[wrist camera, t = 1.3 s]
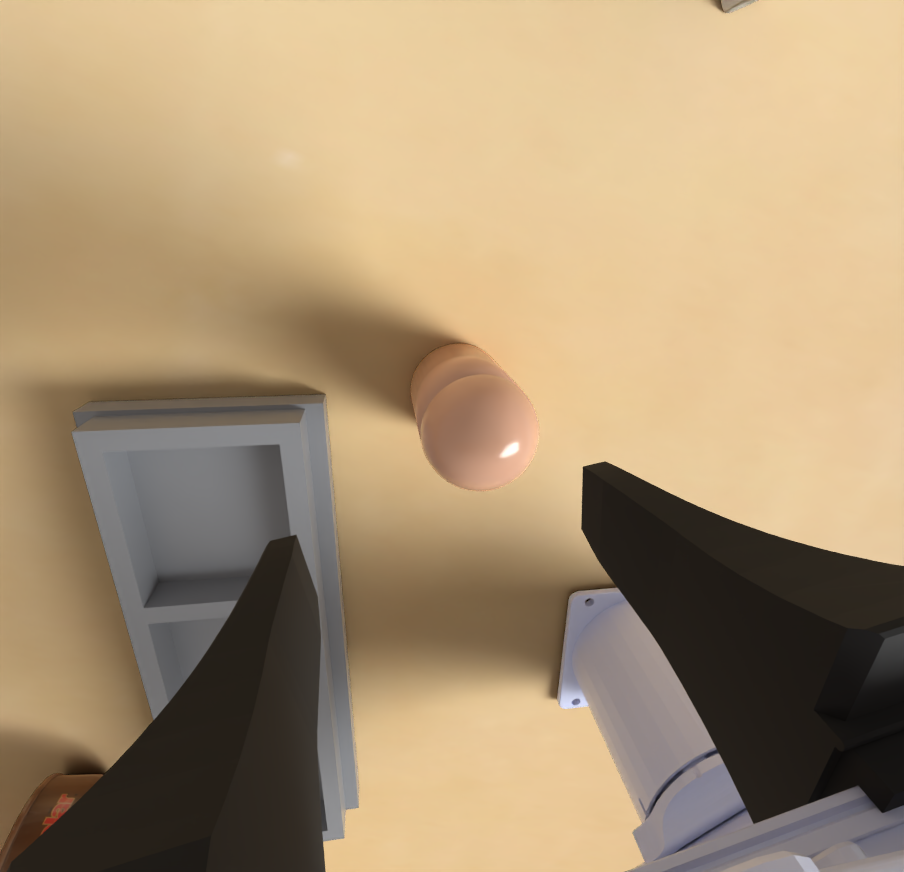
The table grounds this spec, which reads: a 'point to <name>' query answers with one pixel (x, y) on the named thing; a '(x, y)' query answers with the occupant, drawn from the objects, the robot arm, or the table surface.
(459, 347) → the tan rounded cylinder
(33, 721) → the table surface
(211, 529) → the grey compartment tray
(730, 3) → the coffee box
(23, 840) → the tin
